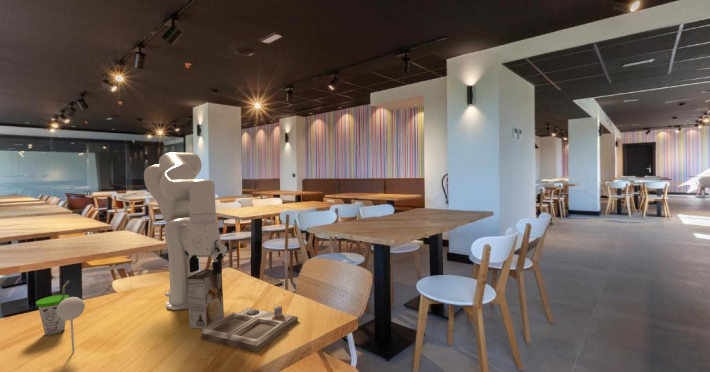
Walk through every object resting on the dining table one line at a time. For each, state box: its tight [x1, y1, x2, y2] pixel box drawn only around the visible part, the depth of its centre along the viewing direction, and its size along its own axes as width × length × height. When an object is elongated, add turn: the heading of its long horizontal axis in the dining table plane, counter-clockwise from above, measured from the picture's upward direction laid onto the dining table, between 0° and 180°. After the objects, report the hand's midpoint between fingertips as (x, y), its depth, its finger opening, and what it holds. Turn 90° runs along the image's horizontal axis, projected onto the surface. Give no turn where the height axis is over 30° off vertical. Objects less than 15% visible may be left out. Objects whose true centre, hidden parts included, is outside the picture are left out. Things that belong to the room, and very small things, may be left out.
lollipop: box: [56, 296, 86, 353], centre depth 93 cm, size 6×6×15 cm
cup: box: [35, 280, 70, 336], centre depth 105 cm, size 8×8×15 cm
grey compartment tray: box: [200, 305, 299, 353], centre depth 104 cm, size 20×20×5 cm
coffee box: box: [187, 268, 225, 330], centre depth 110 cm, size 9×6×16 cm
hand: (205, 272), depth 109 cm, fingers open, 9 cm apart
